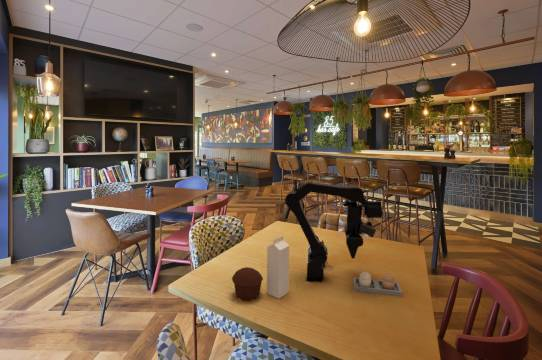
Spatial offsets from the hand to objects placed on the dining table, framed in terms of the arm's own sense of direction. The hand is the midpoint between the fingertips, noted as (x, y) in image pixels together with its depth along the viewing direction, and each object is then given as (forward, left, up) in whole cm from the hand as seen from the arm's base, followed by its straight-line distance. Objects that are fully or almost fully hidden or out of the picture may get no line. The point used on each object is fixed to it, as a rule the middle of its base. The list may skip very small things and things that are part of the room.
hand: (352, 253), depth 119 cm
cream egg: (+5, -4, -12) cm, 13 cm away
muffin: (-39, -20, -12) cm, 45 cm away
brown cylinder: (+14, -4, -12) cm, 19 cm away
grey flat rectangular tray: (+9, -4, -12) cm, 16 cm away
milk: (-28, -16, -12) cm, 35 cm away
